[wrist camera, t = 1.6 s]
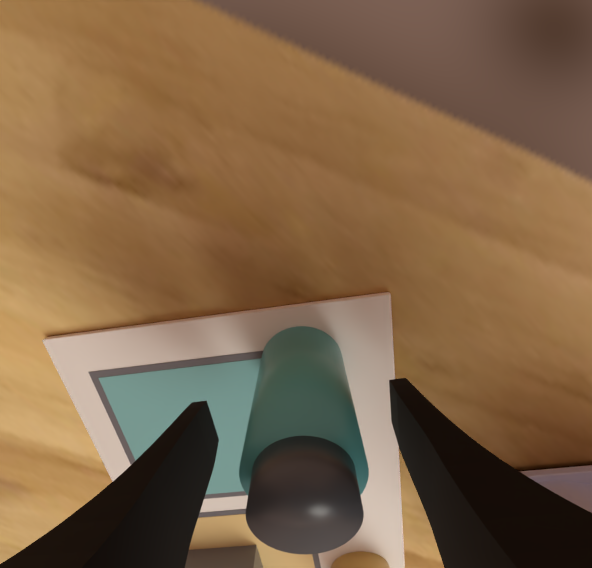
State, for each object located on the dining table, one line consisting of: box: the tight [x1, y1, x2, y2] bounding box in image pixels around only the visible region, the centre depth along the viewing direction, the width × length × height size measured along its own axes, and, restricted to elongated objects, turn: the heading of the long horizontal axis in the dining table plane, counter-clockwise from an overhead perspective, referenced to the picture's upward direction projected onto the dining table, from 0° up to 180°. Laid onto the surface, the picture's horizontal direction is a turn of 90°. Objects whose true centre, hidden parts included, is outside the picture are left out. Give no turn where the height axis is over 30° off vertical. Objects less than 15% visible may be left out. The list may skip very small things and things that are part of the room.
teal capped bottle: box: [239, 326, 369, 554], centre depth 12 cm, size 4×4×7 cm
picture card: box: [42, 292, 405, 568], centre depth 18 cm, size 17×24×1 cm
